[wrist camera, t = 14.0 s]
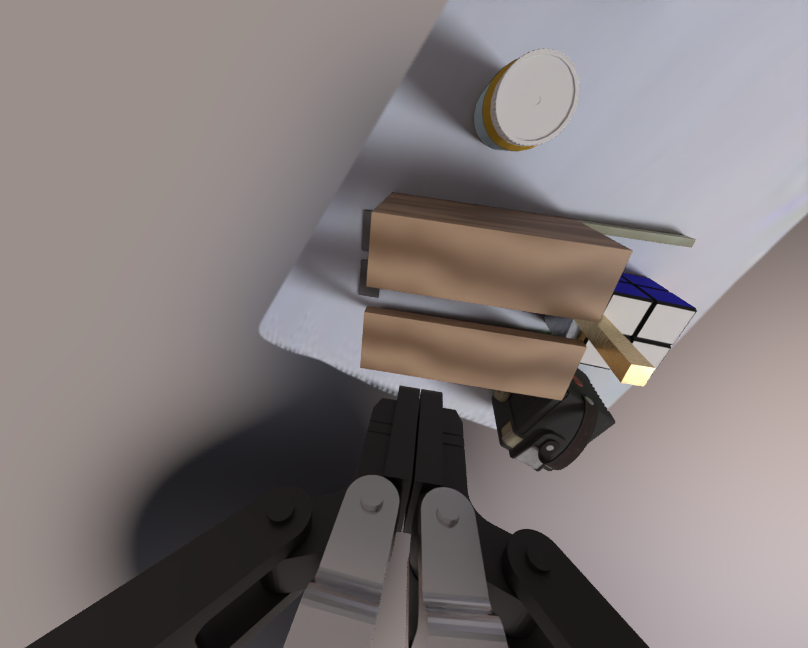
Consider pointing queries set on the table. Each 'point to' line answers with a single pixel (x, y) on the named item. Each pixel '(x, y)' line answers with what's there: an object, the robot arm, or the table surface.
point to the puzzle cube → (643, 319)
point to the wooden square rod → (606, 346)
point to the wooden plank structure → (487, 289)
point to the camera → (550, 424)
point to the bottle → (528, 101)
